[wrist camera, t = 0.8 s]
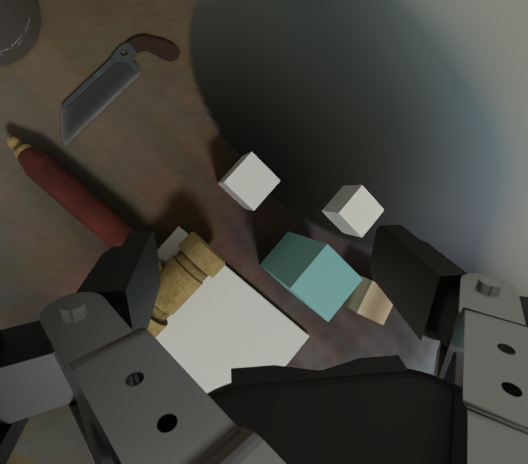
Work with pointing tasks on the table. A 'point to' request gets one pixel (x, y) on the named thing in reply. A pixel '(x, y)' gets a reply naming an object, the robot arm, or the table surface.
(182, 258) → the gavel
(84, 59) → the table surface
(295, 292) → the teal block
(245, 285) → the white mat
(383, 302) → the birch cube right
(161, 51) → the knife
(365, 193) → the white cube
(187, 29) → the table surface
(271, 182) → the grey cube left
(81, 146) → the table surface
